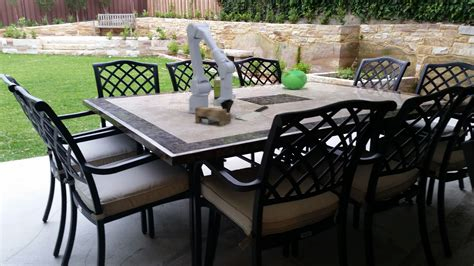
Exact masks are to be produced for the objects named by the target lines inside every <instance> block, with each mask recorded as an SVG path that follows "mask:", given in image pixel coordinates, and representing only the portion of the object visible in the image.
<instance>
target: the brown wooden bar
mask: <svg viewBox="0 0 474 266" xmlns="http://www.w3.org/2000/svg"><path fill="white" fill-rule="evenodd" d="M218 120H219V118H211V117H205V118H201V122H200V124H206V123H207V125H209V124H212V123H215V122H219V121H218Z"/></svg>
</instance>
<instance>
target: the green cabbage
mask: <svg viewBox="0 0 474 266" xmlns="http://www.w3.org/2000/svg"><path fill="white" fill-rule="evenodd" d="M282 72H283V73H282V75H281V76H280V77H281V78H280V79H281V84H282V85H283V86H284V87H285V88H287V89H290V90H298V89H302V88H303V87H304V86H306V84H307V83H308V76H307V74H306V73H305V72H304V71H302V70H300V69H298V68H297V67H294V68H292V69H288V70H282Z"/></svg>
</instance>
